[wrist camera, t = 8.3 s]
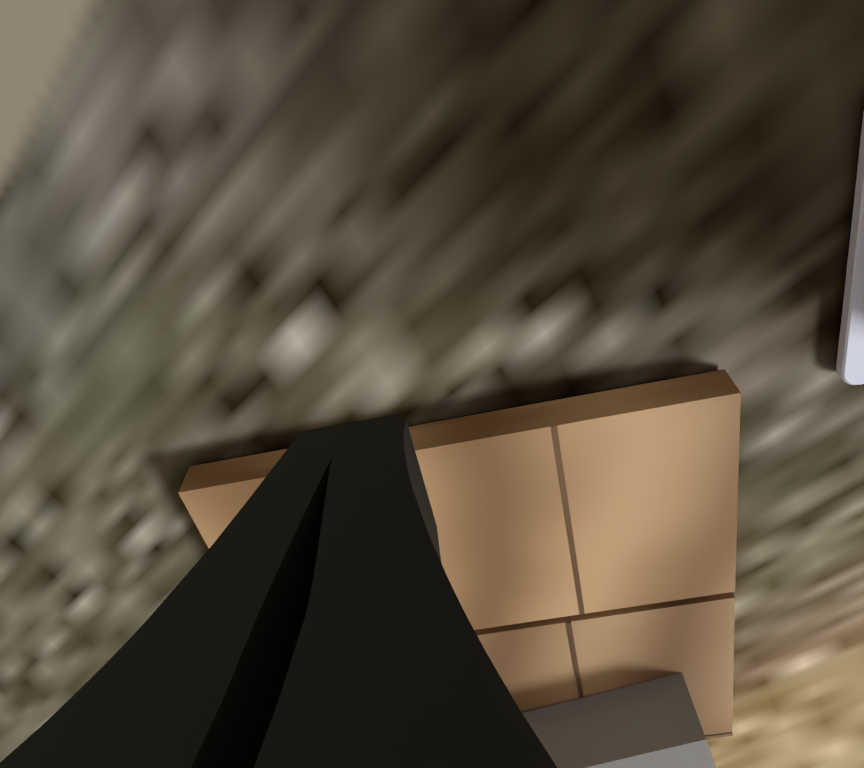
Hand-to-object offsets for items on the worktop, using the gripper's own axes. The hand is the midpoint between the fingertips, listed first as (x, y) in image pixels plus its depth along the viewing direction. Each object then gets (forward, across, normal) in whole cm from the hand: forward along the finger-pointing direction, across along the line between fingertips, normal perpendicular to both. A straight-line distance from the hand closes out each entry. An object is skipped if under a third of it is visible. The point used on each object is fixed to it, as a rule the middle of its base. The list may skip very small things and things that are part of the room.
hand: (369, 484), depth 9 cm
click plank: (+10, 0, +10) cm, 14 cm away
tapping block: (+9, -3, +20) cm, 22 cm away
